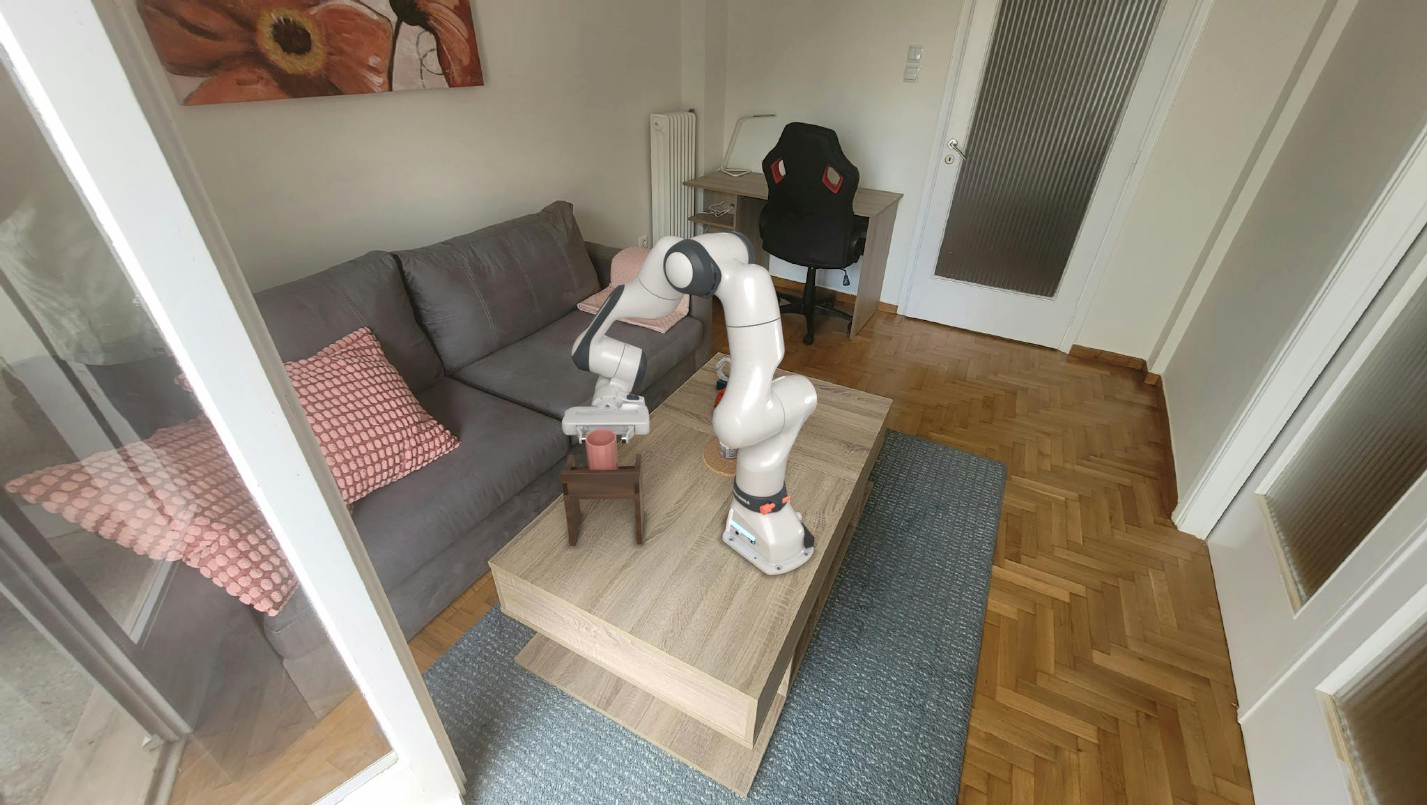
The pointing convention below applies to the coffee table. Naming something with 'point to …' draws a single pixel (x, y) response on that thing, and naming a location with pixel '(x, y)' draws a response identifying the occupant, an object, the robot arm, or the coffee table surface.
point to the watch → (724, 378)
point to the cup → (602, 450)
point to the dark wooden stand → (601, 491)
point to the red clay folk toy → (719, 397)
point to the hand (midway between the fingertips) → (603, 441)
